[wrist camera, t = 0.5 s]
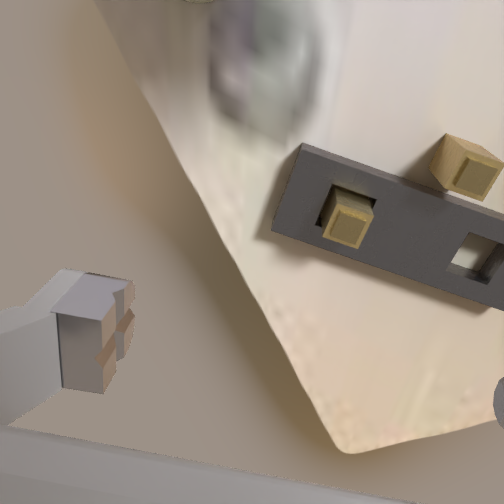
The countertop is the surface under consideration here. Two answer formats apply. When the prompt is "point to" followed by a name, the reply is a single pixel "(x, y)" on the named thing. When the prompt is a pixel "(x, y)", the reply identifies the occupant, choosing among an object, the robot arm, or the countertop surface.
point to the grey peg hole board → (396, 225)
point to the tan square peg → (346, 216)
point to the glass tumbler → (199, 1)
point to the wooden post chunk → (465, 167)
